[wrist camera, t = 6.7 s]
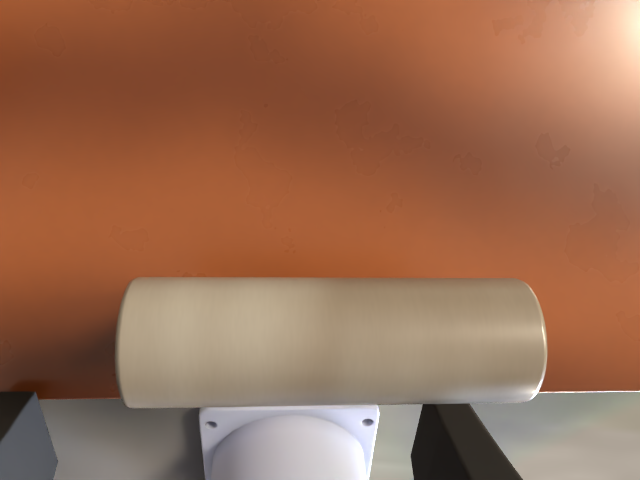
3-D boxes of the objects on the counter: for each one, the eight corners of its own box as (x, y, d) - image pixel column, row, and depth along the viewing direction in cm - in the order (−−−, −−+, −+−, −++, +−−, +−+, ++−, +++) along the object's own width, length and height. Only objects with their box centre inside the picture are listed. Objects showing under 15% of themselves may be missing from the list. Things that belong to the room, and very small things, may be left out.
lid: (681, 383, 12) (954, 493, 7) (-103, 391, 11) (-411, 532, 6) (698, -125, 12) (998, -367, 7) (-113, -175, 10) (-449, -515, 6)
